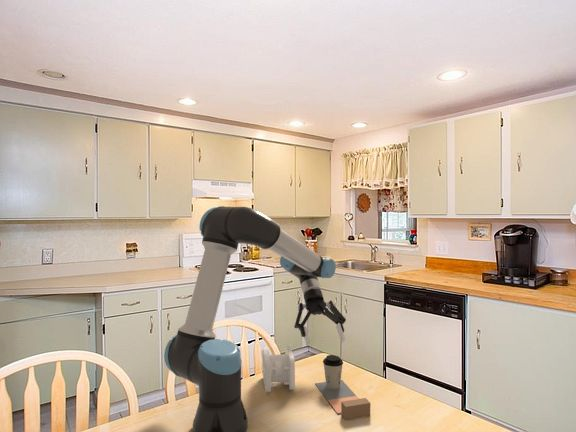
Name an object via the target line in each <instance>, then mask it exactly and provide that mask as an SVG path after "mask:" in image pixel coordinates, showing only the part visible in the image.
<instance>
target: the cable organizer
mask: <svg viewBox="0 0 576 432" xmlns="http://www.w3.org/2000/svg"><path fill="white" fill-rule="evenodd" d="M261 356H262V357H261V359H262V378H263V387H264V392H265V393H271V392H272V386H275V388H276V387H277V384H276V383H280V382H281V383H283V386H284V387H285V385H286V386H287V385H288V389H289V390H290V391H294V390H295V388H296V385H295V384H296V374H295V373H296V365H295V364H296V361H295V356H294V353H293V351H292V348H291V345H285V351H284V353H283V354H270V350H269V347H268V346H265V347H263V348H262V349H261Z"/></svg>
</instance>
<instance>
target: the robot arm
mask: <svg viewBox="0 0 576 432" xmlns="http://www.w3.org/2000/svg"><path fill="white" fill-rule="evenodd" d="M200 218H201V219H200V222H199V231H200V235H201V236H202V240H201V244H202V246H203V247H204V251H203V255H202V259H201V262H200V266H199V270H198V274H197V277H196V281H195V285H194V288H193V292H192V297H191V300H190V304H189V307H188V311H187V316H186V319H185V323H184V324H183V325H182V326H180V327H179V328H178V329H177V333H176V334H175V335H174V336H173V337H172V338H171V339H169V340H168V342H167V344H166V346H165V349H164V353H163V359H164V362H165V363H164V364H165V365H166V368H167V369H168V370H169V371H170V372H172V373H173V374H174V375H176V377H179V378H182V379H185V381H186V380H187V381H189V382H190V383H192V384H195V385H197V386H198V405H197V409H196V412H195V415H194V419H193V422H192V432H246V431H247V428H248V416H247V412H246V409H245V406H244V404H243V401H242V357H241V350H240V347H239V346H238V345H237V344H236V343H235V342H232V341H231V340H227V339H220V338H218V339H217V338H216V334H215V332H214V329H213V328H214V323H215V320H216V316H217V313H218V308H219V305H220V300H221V295H222V292H223V289H224V288H223V287H224V284H225V281H226V276H227V272H228V269H229V268H228V267H229V265H230V261H231V256H232V255H233V254H234V253H237V252H238V247H239V244H245V245H251V246H256V247H259V248H260V249H262V250H269V251H272V252H273V253H275V254H277V255H278V256H280V257H279V265H280V267H282V269H284V271H285V272H288V273H290V274H291V275H293V276H294V277H296V278H298V280H299V285H300V288H301V293H302V295H303V300H304V304H303V302H300V303H299V304H298V306H297V307H298V308H297V309H298V312H297V316H296V320H295V323H294V325H293V326H294V329H298V330H299V331H300V336H301V337H302V338H304V342H305V346H306V347H309V346H310V344H311V342H310V337H309V334H308V330H307V325H306V324H307V321H308V320H309V318H310V317H311V315H313V316H316V315H323V316H325V317H327V318H328V319H329V320H331V321H332V322H333V323H334V324H335V325H336V330H337V333H338V337H339V340H340V343H344V341H345V340H346V339H345V335H344V333H345V328H344V324H345V323H346V321H347V319H346V317H345V316H344V315H343V313H342V312H340V310H339V309H338V308H337V306H335V305H334V303H333V301H332V300H329V301H328V302H326V301H325V300H324V296H323V292H322V288H321V286H320V282H319V279H318V278H322V279H330V278H332V277H334V275H335V273H336V268H337V267H336V262H335V260H334V259H332V258H330V257H324V256H321V255H320V254H318V253H316V252H315V251H313V250H312V249H311V248H309V247H308V246H306V245H305V244H303V243H302V242H300V241H299V240H297V239H296V238H295V237H293V236H291V235H290V234H289V233H287V232H286V231H284V230H283V229H281V226H280V224H279V223H277V221H275V220H274V219H272V218H270V217H269V216H267V215H265V214H264V213H262V212H260V211H258V210H256V209H254V208H251V207H248V206H225V205H223V206H217V207H212V208H209V209H208V210H206V211H205V212H204V214H203V215H202V217H200ZM305 309H306V310H307V313H306V315H305V316H304V318H303V320H302V321H301V318H302V313H303V311H304V310H305ZM300 321H301V322H300ZM305 325H306V326H305Z"/></svg>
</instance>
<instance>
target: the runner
mask: <svg viewBox="0 0 576 432" xmlns="http://www.w3.org/2000/svg"><path fill="white" fill-rule="evenodd" d="M315 385H316V387H317V388H318V390H319V391H320V392H321V393H322V395H323V396H324V398H325V399H326V400H327V402H328V404H329V405H330V406H331V408H332V409H333V410H334V411H335V413H336V414H337V415H341V416H342V418H343V419H344V421H349V420H355V419H362V418H369V417H371V402H370V401H369V400H368V399H367V397H364V398H363V397H362V398H359V397H358V396H357V395H356V394H355V393H354V391H353V390H352V389H351V388H350V387H349V386H348V385H347V384H346V383H345V381H344V380H342V379H341V381H340V388H339V389H337V390H331V389H328V388H327V387H326V381H323V382H315Z"/></svg>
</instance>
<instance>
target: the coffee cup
mask: <svg viewBox="0 0 576 432" xmlns="http://www.w3.org/2000/svg"><path fill="white" fill-rule="evenodd" d="M322 364H323V368H324V369H323V370H324V376H325V377H324V378H325V382H326V387H327V388H328V389H331V390H337V389H339V388H340V381H341V380H342V371H343V364H344V361H343V360H342V359H341V357H340V356H338V355H334V354H329V355H328V354H327V355H326V357H325V358H324V359H323V361H322Z"/></svg>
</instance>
